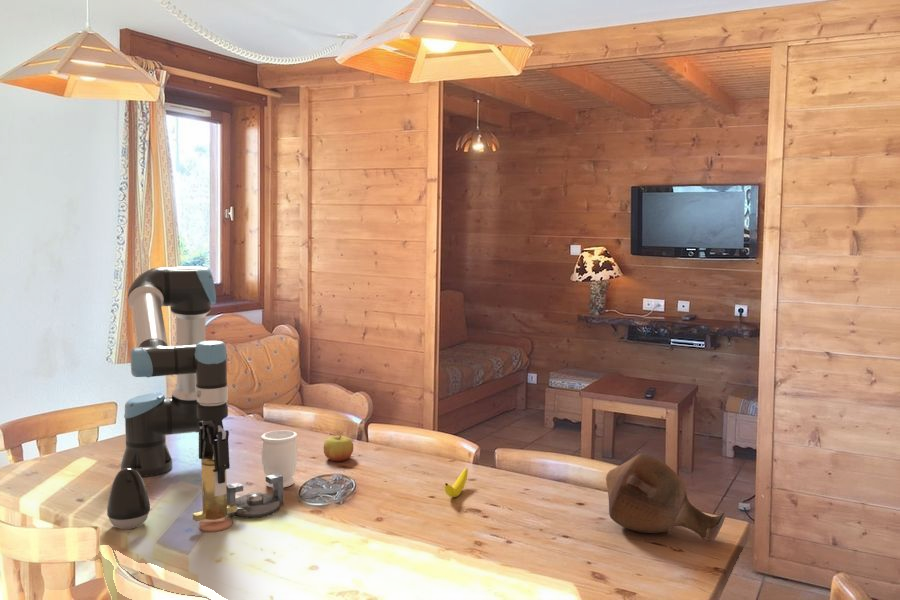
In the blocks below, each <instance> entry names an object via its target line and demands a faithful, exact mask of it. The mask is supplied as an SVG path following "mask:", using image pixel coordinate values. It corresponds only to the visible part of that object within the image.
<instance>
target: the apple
mask: <svg viewBox="0 0 900 600" xmlns="http://www.w3.org/2000/svg"><path fill="white" fill-rule="evenodd" d="M323 453H324V455H325V458H326V459H328V460H330V461H332V462H345V461H347V460H348V459H350V457H351V456H352V455H353V453H354V443H353V441H352V440H351V438H350V437H347V436H345V435H333V436H330V437H328V438H326V440H325V441H324V443H323Z"/></svg>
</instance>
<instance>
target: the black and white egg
mask: <svg viewBox="0 0 900 600" xmlns="http://www.w3.org/2000/svg"><path fill="white" fill-rule="evenodd" d="M150 510H151V502H150V499H149V494H148V491H147V487H146V485H145V482H144V480H143V477H141V476H140V474H139V473H138V472H137V471H136V470H135V469H133V468H124V469H122V470H121V469H120V470H119V471H118V472H117V473H116V475H115V477H114V478H113V481H112V484H111V487H110V491H109V495H108V499H107V508H106V515H107V517H108V519H109V521H110V523H111V524H112V525H113V527H115V528H117V529H121V530H131V529H135V528H138V527H140V526H141V525H143V524H144V523H145V522H146V520H147V518H148V516H149V513H150V512H151V511H150Z"/></svg>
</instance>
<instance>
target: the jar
mask: <svg viewBox="0 0 900 600" xmlns="http://www.w3.org/2000/svg"><path fill="white" fill-rule="evenodd" d="M297 437H298V432H295V431H293V430H287V429H286V430H272V431H267V432H264V433H263V434H261V441H262V447H261V462H262V466H263V472H264V476H265V477H266V476H268V475H273V474H277V473H278V474H280V475H282V476H283V489H285V488H287V487H290V486H292V485H294V484H295V479H294V476H295V473H296V470H297V463H298V444H297V440H296V439H297ZM265 485H266V486H267V487H269V488H272V489H273V484H269V483H268V482H266V481H265Z"/></svg>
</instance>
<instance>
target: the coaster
mask: <svg viewBox="0 0 900 600" xmlns="http://www.w3.org/2000/svg"><path fill="white" fill-rule="evenodd" d="M198 522H199V523H198V528H199V529H200V530H201V531H202V532H207V533H213V532H214V533H215V532H222V531H225V530H227V529H229V528H231V526H232V525H233V522H232V518H230V517H229V516H226V517H224V518H221V519H216V520H208V519H205V520H201V521H198Z"/></svg>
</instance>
